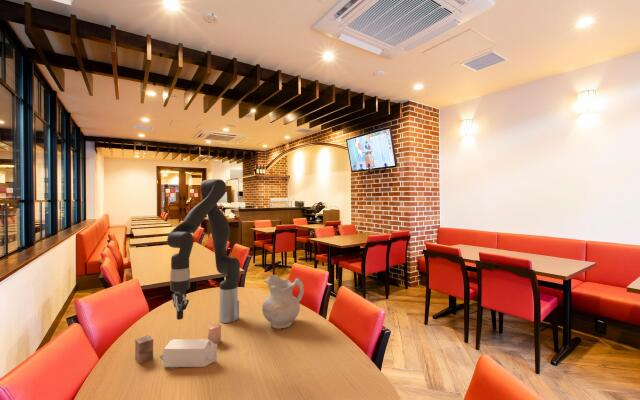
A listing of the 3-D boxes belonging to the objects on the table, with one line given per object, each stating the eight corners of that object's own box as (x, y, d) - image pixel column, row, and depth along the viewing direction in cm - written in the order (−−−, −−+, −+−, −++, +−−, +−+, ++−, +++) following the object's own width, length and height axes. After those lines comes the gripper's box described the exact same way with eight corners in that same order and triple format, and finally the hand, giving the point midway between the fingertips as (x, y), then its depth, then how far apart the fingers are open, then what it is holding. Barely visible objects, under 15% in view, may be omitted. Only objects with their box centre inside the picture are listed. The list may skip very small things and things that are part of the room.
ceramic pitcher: (306, 320, 160) (307, 273, 161) (300, 333, 140) (301, 280, 142) (267, 318, 162) (268, 272, 164) (256, 331, 142) (258, 279, 144)
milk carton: (171, 339, 119) (219, 339, 120) (170, 356, 119) (219, 356, 120) (163, 348, 111) (214, 348, 113) (162, 367, 112) (214, 367, 113)
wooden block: (149, 354, 122) (149, 335, 122) (153, 359, 118) (153, 339, 118) (135, 359, 118) (135, 339, 118) (138, 364, 115) (139, 343, 114)
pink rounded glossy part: (217, 338, 136) (217, 323, 136) (223, 342, 132) (223, 327, 132) (205, 342, 132) (205, 326, 132) (211, 347, 128) (211, 331, 128)
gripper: (195, 279, 124) (195, 320, 124) (183, 273, 133) (182, 312, 133) (176, 283, 118) (176, 326, 118) (165, 276, 128) (164, 316, 128)
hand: (179, 318), depth 126 cm, fingers closed
